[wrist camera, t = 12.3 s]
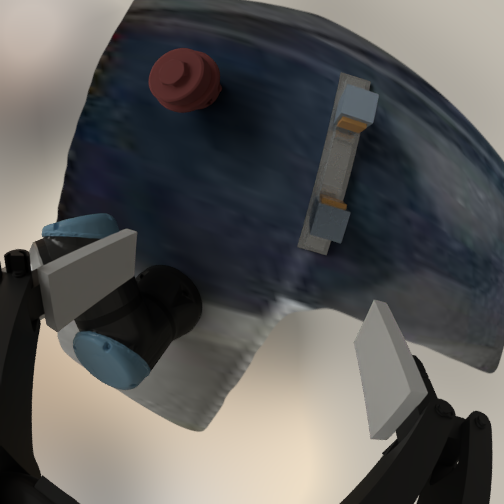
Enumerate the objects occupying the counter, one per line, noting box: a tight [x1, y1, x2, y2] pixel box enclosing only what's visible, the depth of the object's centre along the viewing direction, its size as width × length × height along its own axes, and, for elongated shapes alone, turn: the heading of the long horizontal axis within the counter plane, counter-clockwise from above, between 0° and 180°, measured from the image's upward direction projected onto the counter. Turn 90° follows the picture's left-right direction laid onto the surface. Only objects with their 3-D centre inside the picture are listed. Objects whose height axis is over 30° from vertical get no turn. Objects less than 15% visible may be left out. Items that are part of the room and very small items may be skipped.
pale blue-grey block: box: [333, 84, 379, 133], centre depth 31 cm, size 5×4×9 cm
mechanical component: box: [149, 48, 222, 113], centre depth 34 cm, size 12×10×10 cm
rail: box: [297, 73, 371, 255], centre depth 34 cm, size 30×5×12 cm, turn 167°
